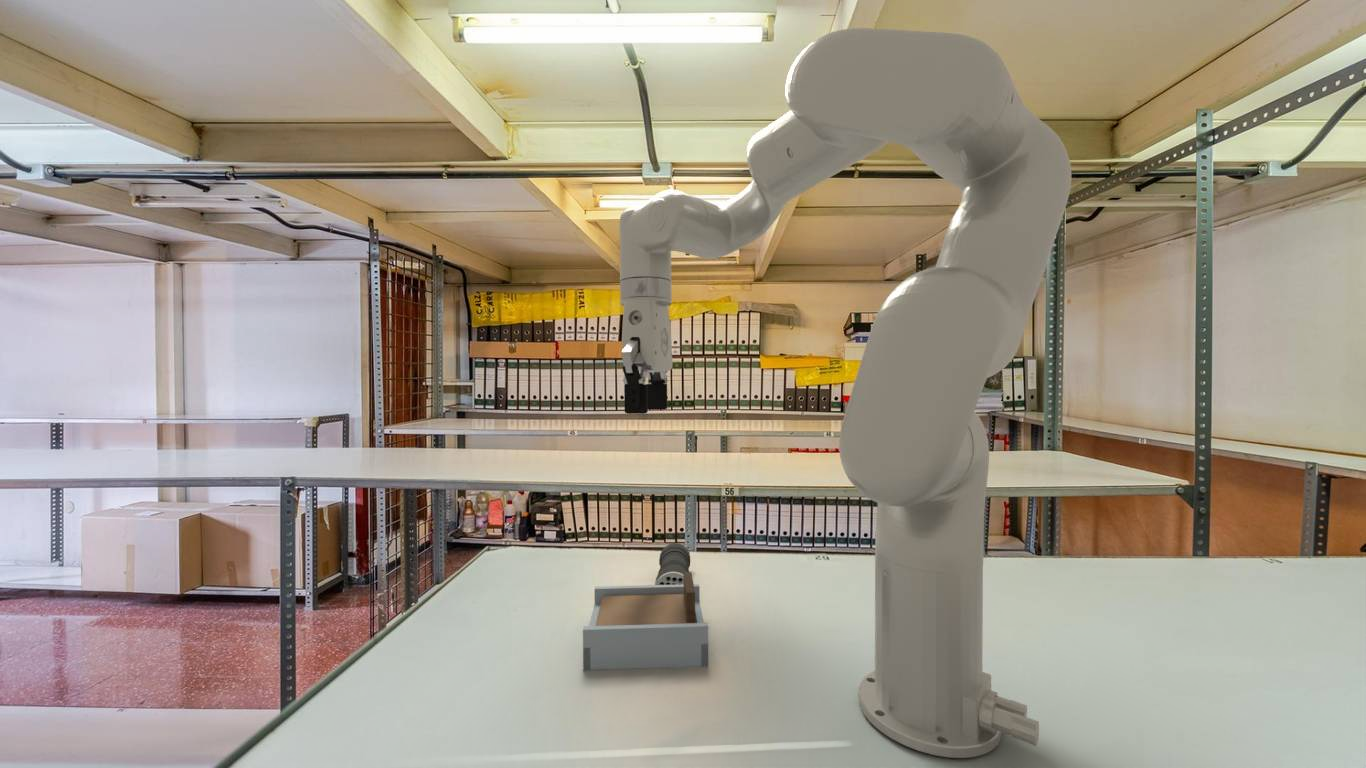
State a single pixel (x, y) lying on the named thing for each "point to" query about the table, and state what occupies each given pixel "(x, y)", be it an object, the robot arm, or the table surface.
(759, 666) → the table surface
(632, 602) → the cover plate
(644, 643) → the light grey open box
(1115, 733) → the table surface
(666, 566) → the flashlight
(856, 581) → the table surface
